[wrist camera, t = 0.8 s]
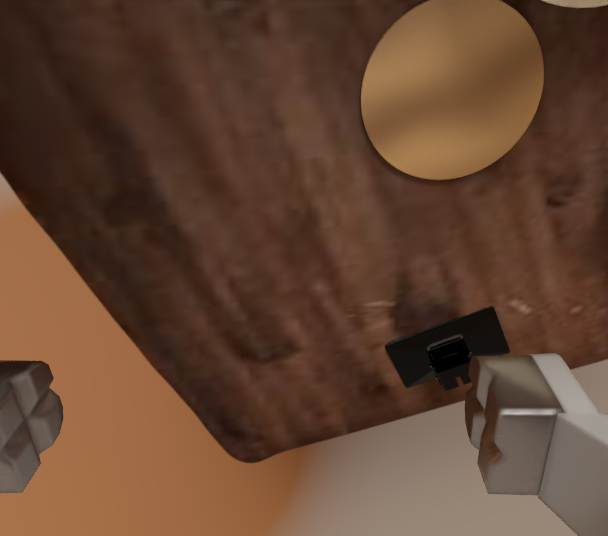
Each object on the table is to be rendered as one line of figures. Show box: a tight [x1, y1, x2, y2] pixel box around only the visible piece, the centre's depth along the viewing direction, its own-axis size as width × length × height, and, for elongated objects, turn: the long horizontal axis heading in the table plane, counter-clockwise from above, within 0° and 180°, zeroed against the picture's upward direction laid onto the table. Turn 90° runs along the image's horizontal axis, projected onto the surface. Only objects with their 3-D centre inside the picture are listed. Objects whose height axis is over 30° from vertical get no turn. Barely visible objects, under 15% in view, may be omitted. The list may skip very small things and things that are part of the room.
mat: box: [360, 0, 544, 180], centre depth 43 cm, size 15×15×1 cm
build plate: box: [385, 306, 510, 391], centre depth 56 cm, size 12×7×5 cm, turn 116°
